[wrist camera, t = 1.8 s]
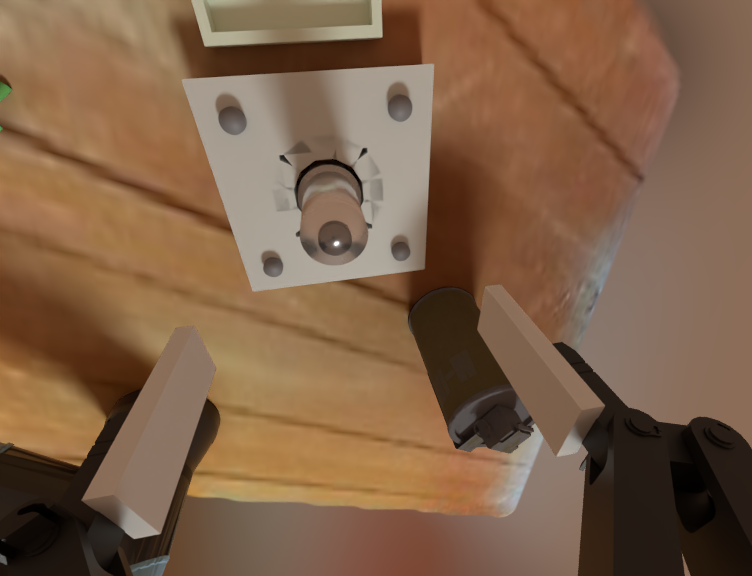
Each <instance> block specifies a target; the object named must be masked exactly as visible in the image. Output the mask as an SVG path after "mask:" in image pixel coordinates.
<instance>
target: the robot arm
mask: <svg viewBox="0 0 752 576" xmlns="http://www.w3.org/2000/svg"><path fill="white" fill-rule="evenodd" d="M477 330H478V332H479V333H480V335H481V337H482V338H483V340H484V341H485V343H486V345H487V346H488V348H489V350H490V351H491V353H492V354H493V356H494V358H495V359H496V361H497V362H498V364H499V366H500V367H501V369H502V370H503V372H504V374H505V375H506V377H507V379H508V380H509V382H510V383H511V385H512V387H513V388H514V390H515V391H516V393H517V395H518V396H519V398H520V400H521V401H522V403H523V404H524V406H525V408H526V409H527V411H528V412H529V414H530V416H531V417H532V419H533V420H534V422H535V424H536V425H537V427H538V429H539V430H540V432H541V433H542V435H543V437H544V438H545V440H546V441H547V443H548V444H549V446H550V448H551V449H552V451H553V453H554V454H555V456H556V457H558V456H563V455H568V454H574V453H577V451H578V449H579V448H580V446H581V445H582V444H583V445H584V447H585V448H586V450H587V451H588V455H587V456H586V457H585V459H584V461H583V462H582V464H581V466H580V468H579V469H580V470H582V471H583V470H584V468H585V467H586V470H585V485H584V498H583V513H582V526H581V540H580V555H579V568H578V569H579V570H578V576H685V574H684V566H683V559H682V553H683V556H684V559H685V562H686V564H687V567H688V570H689V572H690V575H691V576H752V449H751V447H750V446H749V444H748V443H747V441H746V440H745V439H744V438H743V437H742V436H741V435H740V434H739V433H738V432H736V431H735V430H734V429H733V428H731V427H730V426H728V425H726V424H724V423H722V422H720V421H718V420H715V419H711V418H708V417H697V418H694V419H692V420H691V422H690V423H689V424H688V425H687V426H686V425H679V424H671V423H663V422H657V421H656V420H654V419H653V418H652V417H650V416H649V415H648V414H646V413H644V412H642V411H640V410H637V409H632V408H628V407H627V406H626V405H625V404H624V403H623V402H622V401H621V400H620V399H619V397H618V396H617V395H616V394H615V393H614V392H613V391H612V390H611V389H610V388H609V387H608V385H607V384H606V383H605V382H604V381H603V380H602V379H601V378H600V377H599V376H598V375H597V374H596V373H595V372H593V369H592V368H591V367H590V366H589V365H588V364H587V363H585V361H584V360H583V358H581V356H580V355H579V354H578V353H577V352H576V351H575V350H573V349H572V348H570V347H569V346H567V345H566V344H564V343H563V342H560V343H554V344H552V343H551V342H550V341H549V340H548V339H547V338H546V336H545V335H544V334H543V333H542V332H541V331H540V330H539V328H538V327H537V326H536V325H535V324H534V323H533V321H532V320H531V319H530V318H529V317H528V316H527V314H526V313H525V312H524V311H523V310H522V309H521V307H520V306H519V305H518V304H517V303H516V302H515V301H514V299H513V298H512V297H511V296H510V295H509V294H508V292H507V291H506V290H505V289H504V288H503V287H502V285H501V284H499V285H492V286H485V290H484V295H483V301H482V306H481V312H480V317H479V323H478V328H477ZM215 371H216V367H215V365H214V363H213V361H212V359H211V357H210V355H209V353H208V351H207V349H206V347H205V345H204V343H203V341H202V339H201V337H200V335H199V333H198V331H197V330H196V328H195V326H187V327H180V328H176V329H175V330H174V332H173V334H172V336H171V338H170V339H169V341H168V343H167V345H166V347H165V349H164V350H163V352H162V354H161V356H160V358H159V360H158V361H157V363H156V365H155V367H154V369H153V370H152V372H151V374H150V376H149V378H148V380H147V381H146V383H145V385H144V387H143V389H142V390H140V391H136V392H133V393H130V394H128V395H126V396H124V397H123V398H121V399H120V400H119V401H118V402H117V403H116V404H115V405H114V407H113V408H112V410H111V412H110V413H109V415H108V417H107V419H106V421H105V424H104V428H103V430H102V431H101V433H100V435H99V436H98V438H97V440H96V441H95V445H94V446H92V448H91V450H90V451H89V453H88V455H87V459H85V460H84V461H83V463H82V465H81V466H77V465H73V464H70V463H67V462H63V461H60V460H57V459H53V458H50V457H47V456H43V455H40V454H37V453H34V452H31V451H28V450H25V449H21V448H18V447H15V446H13V445H14V444H12V443H7V444H4V443H0V576H162V574H163V571H164V569H165V566H166V563H167V562H168V560H169V557H170V556H169V553H170V549H171V546H172V542H173V539H174V536H175V532H176V529H177V526H178V522H179V519H180V515H181V512H182V508H183V505H184V502H185V498H186V495H187V492H188V488H189V485H190V482H191V478H192V475H193V472H194V471H195V469H196V467H197V466H198V464H199V463H200V461H201V460H202V458H203V457H204V455H205V454H206V452H207V451H208V449H209V447H210V446H211V444H212V443H213V442H214V440H215V438H216V436H217V432H218V429H219V425H220V415H219V413H218V411H217V409H216V408H215V407H214V406H213V405H212V404H211V403H210V402H209V401H207V400H206V398H207V395H208V392H209V389H210V386H211V383H212V380H213V377H214V374H215Z"/></svg>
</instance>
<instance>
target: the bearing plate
mask: <svg viewBox="0 0 752 576" xmlns="http://www.w3.org/2000/svg"><path fill="white" fill-rule="evenodd" d="M433 76H434V64H422V65H405V66H389V67H373V68H356V69H340V70H324V71H307V72H291V73H275V74H258V75H242V76H226V77H209V78H193V79H181V80H182V83H183V86H184V89H185V92H186V95H187V98H188V101H189V104H190V107H191V110H192V113H193V115H194V118H195V121H196V124H197V127H198V130H199V133H200V136H201V139H202V142H203V145H204V148H205V151H206V154H207V157H208V160H209V163H210V166H211V169H212V172H213V175H214V178H215V181H216V184H217V187H218V190H219V192H220V195H221V198H222V201H223V204H224V207H225V210H226V213H227V216H228V219H229V222H230V225H231V228H232V231H233V234H234V237H235V240H236V243H237V246H238V249H239V252H240V255H241V258H242V261H243V264H244V266H245V269H246V272H247V275H248V278H249V281H250V284H251V287H252V290H253V292H254V291H261V290H269V289H277V288H285V287H292V286H300V285H308V284H315V283H323V282H331V281H338V280H346V279H354V278H362V277H369V276H377V275H385V274H392V273H400V272H408V271H416V270H423V269H425V254H426V232H427V210H428V188H429V165H430V143H431V121H432V99H433ZM326 159H336V160H338V161H340V162H342V163H344V164H346V165H348V166H351V167H352V168H353V170H354V171H355V172H356V174H357V175H358V177H359V187H360V191H361V204H360V206H361V209H362V212H363V215H364V218H365V221H366V224H367V227H368V241H367V244H366V247H365V249H364V250H363V252H362V253H361V254H360V255H359V256H358V257H357V258H356V259H354V260H353V261H351V262H349V263H346V264H343V265H336V266H332V265H325V264H322V263H319V262H317V261H315V260H314V259H312V258H311V257H310V256H309V255H308V254H307V253H306V252H305V250H304V249H303V247H302V244H301V241H300V224H301V213H302V210H301V208H300V206H299V202H298V189H297V184H296V182H297V179H298V176H299V174H300V172H301V171H302V170H303V169H305V168H306V167H307V166H309V165H310V164H311V163H313V162H314V161H315V160H326Z"/></svg>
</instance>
